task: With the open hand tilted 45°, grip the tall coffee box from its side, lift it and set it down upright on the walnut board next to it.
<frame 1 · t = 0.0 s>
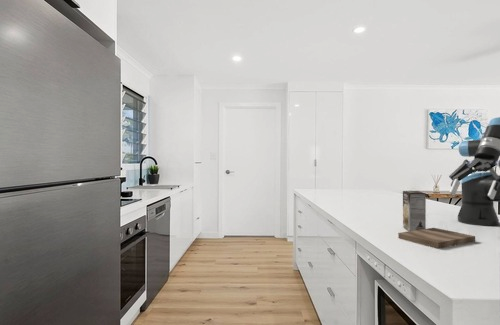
hand: (470, 195, 113), 15 cm above the worktop, tool tilted 35°, fingers open, 13 cm apart
coffee box: (414, 230, 122), on the worktop
walnut board: (435, 239, 107), on the worktop
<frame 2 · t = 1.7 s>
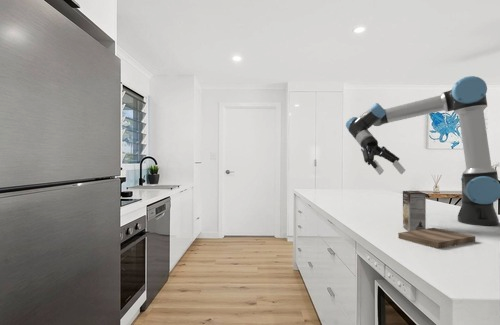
hand: (392, 172, 132), 24 cm above the worktop, tool tilted 45°, fingers open, 13 cm apart
nothing on the worktop moved.
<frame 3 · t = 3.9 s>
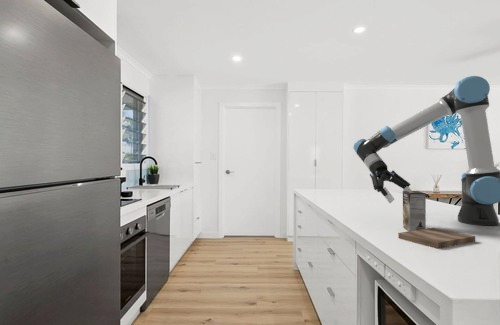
hand: (403, 200, 126), 12 cm above the worktop, tool tilted 45°, fingers open, 13 cm apart
nothing on the worktop moved.
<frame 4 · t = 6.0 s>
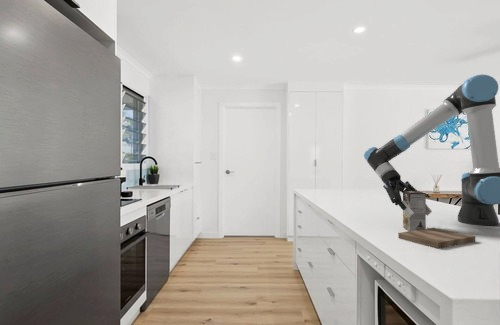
hand: (420, 214, 119), 7 cm above the worktop, tool tilted 45°, fingers closed on coffee box, 10 cm apart
coffee box: (414, 230, 122), on the worktop, touching gripper
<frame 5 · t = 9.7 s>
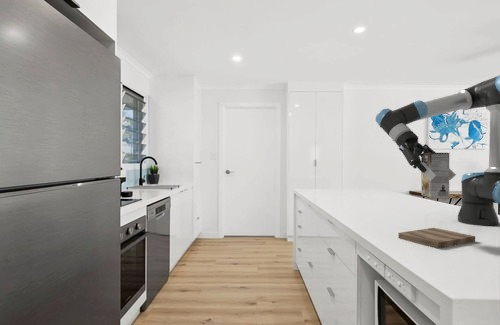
hand: (443, 177, 104), 23 cm above the worktop, tool tilted 45°, fingers closed on coffee box, 10 cm apart
coffee box: (434, 197, 107), point 16 cm above the worktop, touching gripper
when the fingers open (10 cm above the worktop, at t = 13.4 s): coffee box drops 1 cm, resting on walnut board.
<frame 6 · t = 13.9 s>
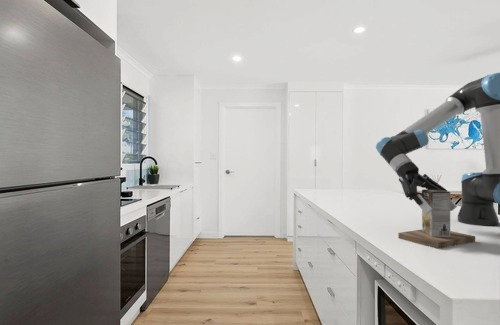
hand: (441, 210, 104), 11 cm above the worktop, tool tilted 45°, fingers open, 13 cm apart
coffee box: (435, 234, 107), point 2 cm above the worktop, touching walnut board
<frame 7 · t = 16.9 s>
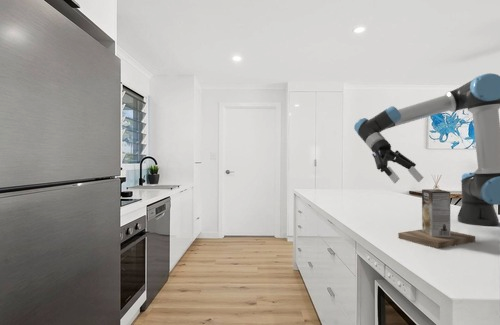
hand: (409, 180, 116), 21 cm above the worktop, tool tilted 45°, fingers open, 13 cm apart
nothing on the worktop moved.
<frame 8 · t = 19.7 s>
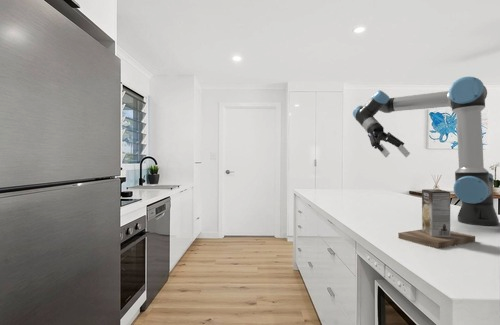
hand: (398, 155, 141), 32 cm above the worktop, tool tilted 45°, fingers open, 13 cm apart
nothing on the worktop moved.
at the end: coffee box inside the target area on the walnut board (0.3 cm from its centre), point 1.8 cm above the walnut board's base; coffee box tilted 0°; the gripper is holding nothing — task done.
